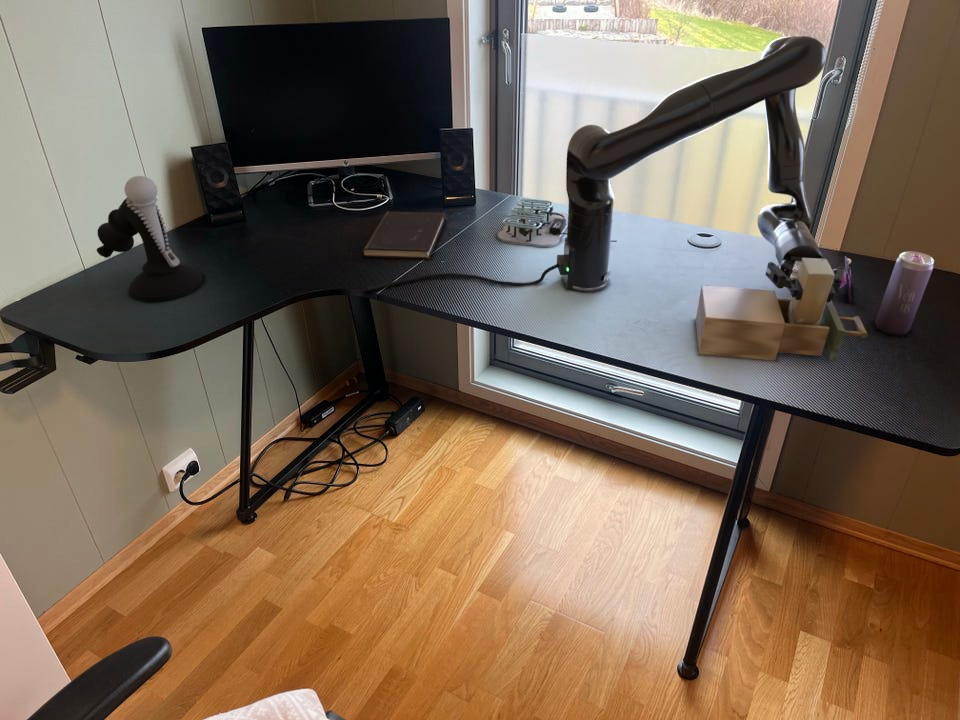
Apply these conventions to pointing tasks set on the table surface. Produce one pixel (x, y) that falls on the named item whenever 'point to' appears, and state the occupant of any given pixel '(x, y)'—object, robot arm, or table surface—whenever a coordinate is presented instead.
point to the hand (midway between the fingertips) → (814, 296)
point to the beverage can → (904, 292)
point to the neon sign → (534, 224)
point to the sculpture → (147, 245)
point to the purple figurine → (847, 277)
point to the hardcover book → (405, 235)
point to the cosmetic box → (811, 292)
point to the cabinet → (739, 322)
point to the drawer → (817, 333)
